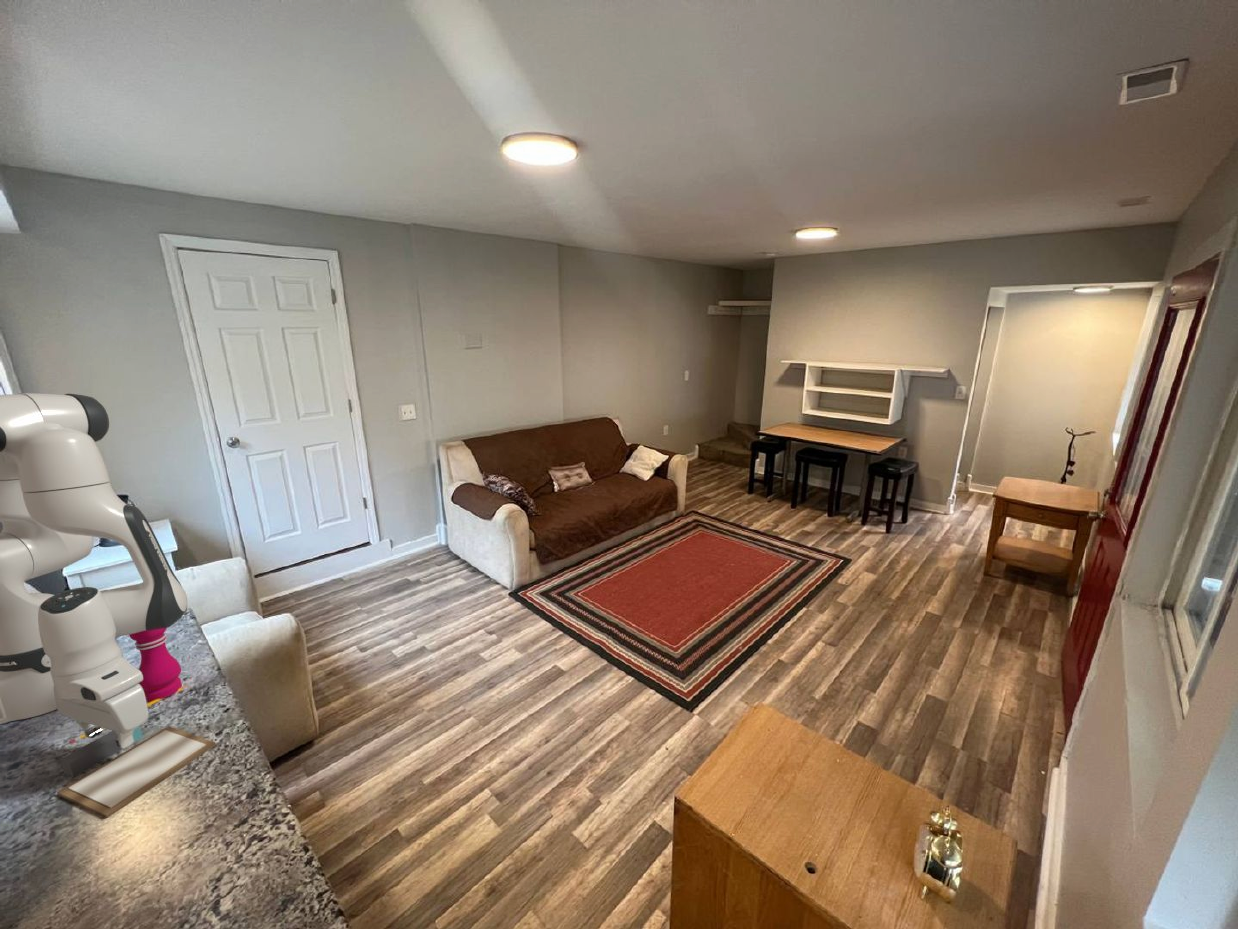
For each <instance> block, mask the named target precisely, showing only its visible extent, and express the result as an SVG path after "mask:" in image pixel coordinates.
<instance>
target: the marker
mask: <svg viewBox="0 0 1238 929" xmlns="http://www.w3.org/2000/svg"><path fill="white" fill-rule="evenodd" d="M132 736H133V739H134V742H133V743H132V744H134V743H135V742H137V741H139V740H140V739H142V738H143V737H144V736H143V731H142V726H139V727H138V728H136V729H134V731H133V734H132ZM117 738H118V734H116V732H115V731H112V730H110V731H108V732H107V733H105V734H103V735H102V736H101V735H100V736H99V737H98V738H96V739H94V740H92V741H90V742H88V743H86V744H85V745H82V747H79V748H78V749H76V750H73V751H72V752H70V753H68V754H66V755H65V756H63V757H61V758H59V759H60V760H59V761H60V763H61V764H60V765H61V767H62V770H63V773H64V774H65V775H68V776H70V777H72V778H75V777H77V776H79V775H80V774H82V773H83V772H85V771H88V770H89V769H91V768H92V767H94V766H96V765H98V764H99V763H101V762H103V761H104V760H106V759H108V758H109V757H111V756H113V755H114V754H116V753H118V752H120V751H122V750H124V748H120V747H118V746H117V743H116V741H115V740H116V739H117Z"/></svg>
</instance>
